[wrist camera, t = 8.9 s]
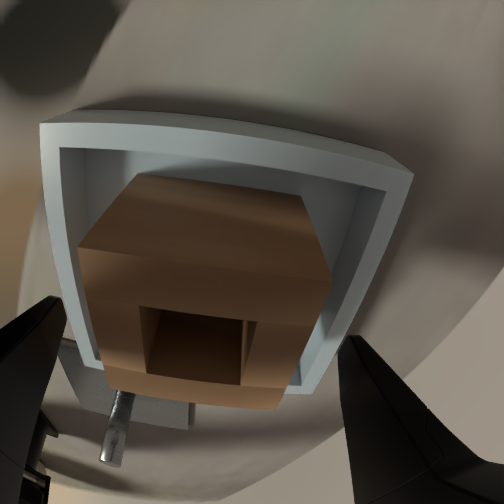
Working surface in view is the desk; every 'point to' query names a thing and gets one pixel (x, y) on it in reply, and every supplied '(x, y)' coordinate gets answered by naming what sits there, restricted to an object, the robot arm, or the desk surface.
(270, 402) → the wooden block with hole
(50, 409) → the desk surface
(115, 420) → the grey peg stand
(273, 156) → the tray
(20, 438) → the robot arm
